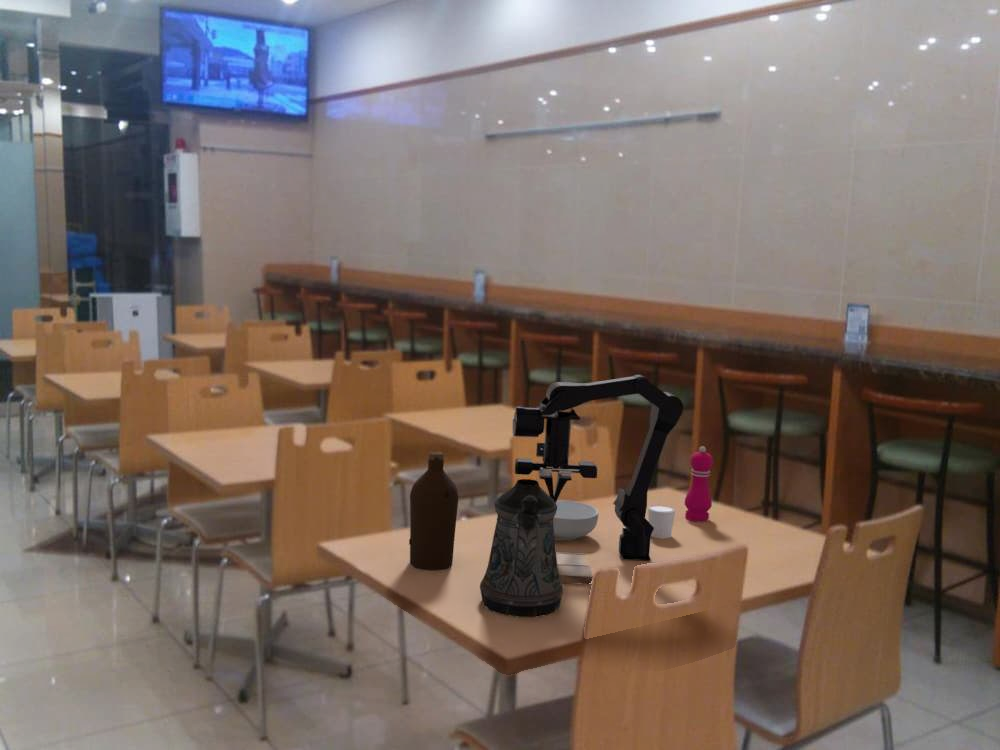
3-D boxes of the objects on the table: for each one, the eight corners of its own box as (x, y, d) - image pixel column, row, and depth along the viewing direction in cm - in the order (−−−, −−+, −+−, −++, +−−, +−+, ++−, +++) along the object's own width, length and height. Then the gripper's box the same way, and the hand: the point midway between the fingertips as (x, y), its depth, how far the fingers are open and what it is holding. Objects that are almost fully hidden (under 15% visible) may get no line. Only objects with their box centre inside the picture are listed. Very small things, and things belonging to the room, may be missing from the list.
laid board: (589, 573, 221) (589, 566, 221) (592, 584, 214) (593, 576, 214) (507, 569, 221) (508, 562, 221) (508, 580, 214) (508, 572, 214)
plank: (584, 560, 229) (584, 553, 228) (587, 572, 222) (587, 565, 221) (509, 556, 228) (510, 549, 228) (510, 568, 221) (510, 561, 221)
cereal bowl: (514, 532, 250) (516, 504, 249) (562, 523, 261) (563, 496, 260) (563, 550, 238) (565, 521, 237) (610, 539, 249) (612, 511, 248)
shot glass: (678, 538, 253) (680, 511, 252) (654, 540, 250) (657, 512, 249) (664, 530, 259) (666, 504, 258) (641, 532, 256) (643, 505, 256)
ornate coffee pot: (535, 585, 212) (542, 469, 209) (585, 617, 195) (594, 491, 192) (465, 594, 204) (471, 473, 201) (511, 628, 187) (519, 497, 184)
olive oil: (463, 561, 225) (468, 452, 222) (441, 574, 215) (447, 460, 212) (421, 553, 229) (426, 445, 226) (398, 565, 219) (403, 453, 216)
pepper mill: (678, 515, 275) (684, 443, 272) (702, 514, 277) (708, 443, 275) (691, 522, 268) (697, 449, 266) (715, 522, 270) (721, 449, 268)
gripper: (594, 433, 238) (590, 497, 240) (516, 429, 238) (512, 493, 240) (599, 442, 227) (594, 510, 229) (517, 438, 227) (513, 505, 229)
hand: (553, 504), depth 232 cm, fingers closed
